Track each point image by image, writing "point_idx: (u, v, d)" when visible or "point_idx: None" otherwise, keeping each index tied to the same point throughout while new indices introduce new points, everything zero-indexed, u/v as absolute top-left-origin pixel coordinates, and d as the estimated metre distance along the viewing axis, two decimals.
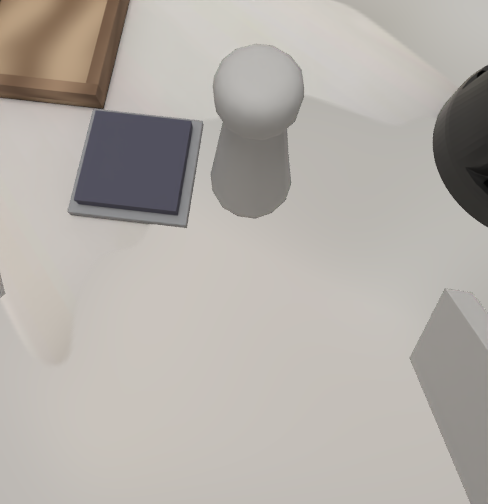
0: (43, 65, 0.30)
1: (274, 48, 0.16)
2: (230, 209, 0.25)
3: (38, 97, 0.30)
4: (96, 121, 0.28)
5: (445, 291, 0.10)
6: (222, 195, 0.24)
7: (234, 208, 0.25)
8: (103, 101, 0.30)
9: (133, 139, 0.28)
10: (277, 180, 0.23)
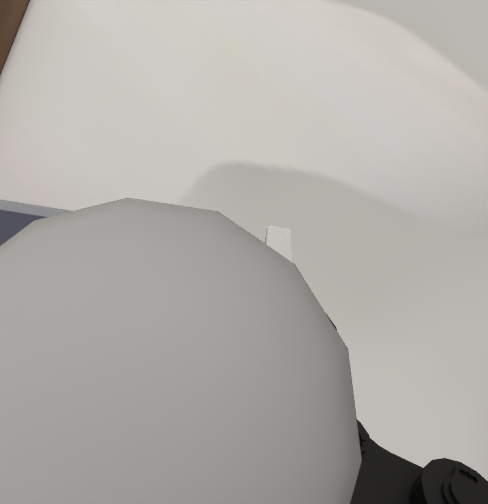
0: None
1: (212, 249, 0.03)
2: None
3: None
4: None
5: None
6: None
7: None
8: None
9: None
10: None
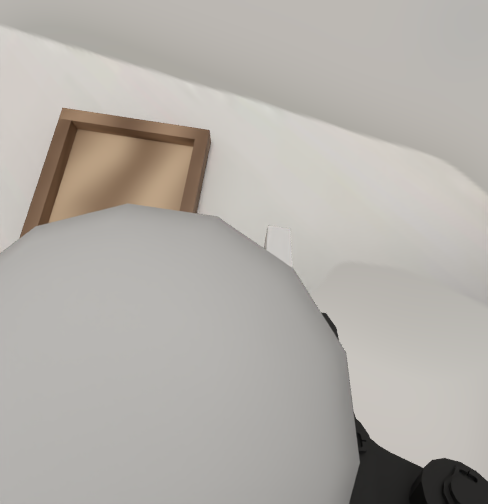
0: None
1: (211, 254, 0.03)
2: None
3: None
4: None
5: None
6: None
7: None
8: None
9: None
10: None
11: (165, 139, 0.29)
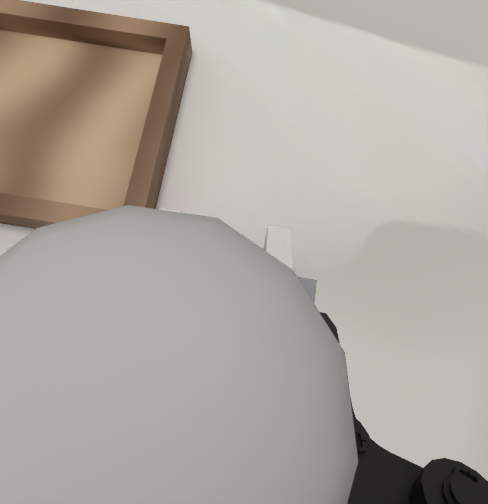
0: (49, 167, 0.18)
1: (211, 255, 0.03)
2: None
3: (38, 225, 0.18)
4: None
5: None
6: None
7: None
8: None
9: None
10: None
11: (124, 42, 0.20)
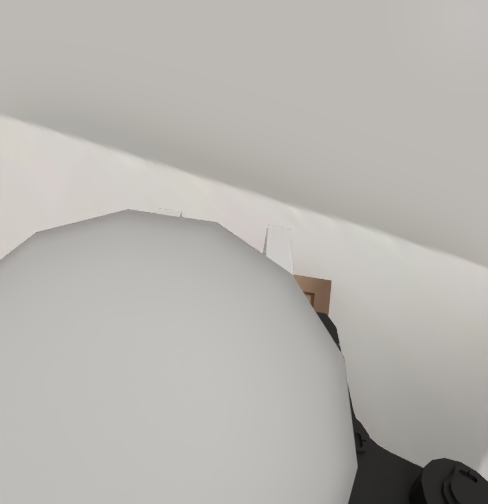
0: None
1: (210, 260, 0.03)
2: None
3: None
4: None
5: None
6: None
7: None
8: None
9: None
10: None
11: None
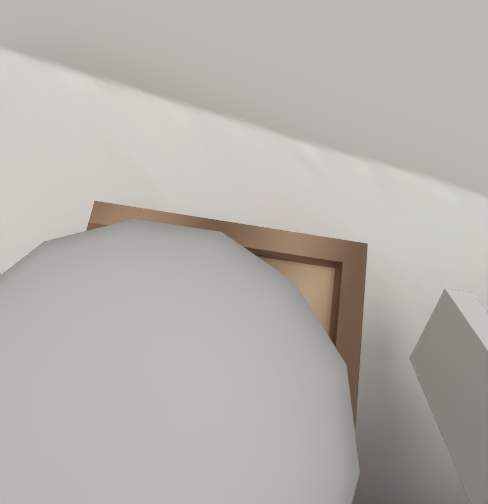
0: None
1: (216, 271, 0.03)
2: None
3: None
4: None
5: (445, 291, 0.10)
6: None
7: None
8: None
9: None
10: None
11: (282, 257, 0.16)
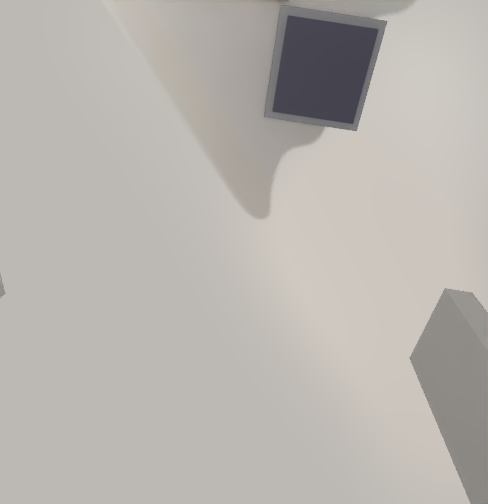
0: None
1: None
2: None
3: None
4: (288, 29, 0.30)
5: (445, 291, 0.10)
6: None
7: None
8: None
9: (322, 51, 0.31)
10: None
11: None
